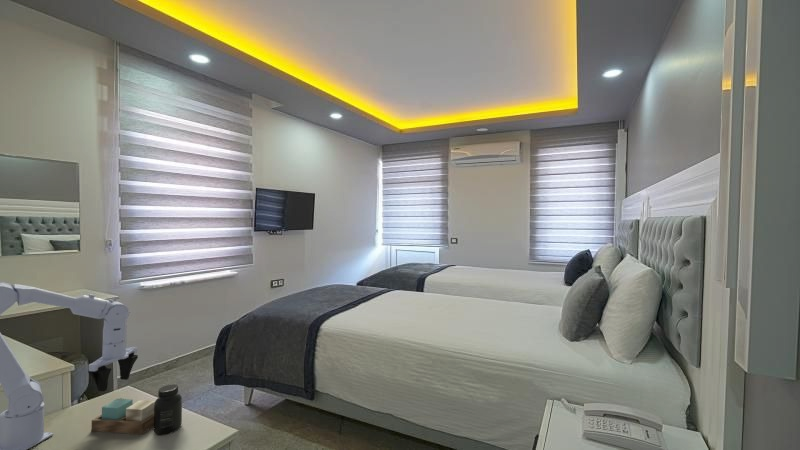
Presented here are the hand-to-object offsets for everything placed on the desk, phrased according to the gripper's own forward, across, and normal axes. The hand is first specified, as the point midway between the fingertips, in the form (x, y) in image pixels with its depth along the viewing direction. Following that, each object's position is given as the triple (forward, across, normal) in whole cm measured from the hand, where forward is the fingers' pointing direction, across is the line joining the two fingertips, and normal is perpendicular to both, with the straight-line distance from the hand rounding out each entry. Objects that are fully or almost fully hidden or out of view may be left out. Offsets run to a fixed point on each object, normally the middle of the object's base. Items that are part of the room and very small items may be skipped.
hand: (113, 384), depth 106 cm
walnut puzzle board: (+9, -4, -9) cm, 14 cm away
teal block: (+8, -4, -5) cm, 11 cm away
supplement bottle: (+10, -5, -22) cm, 25 cm away
